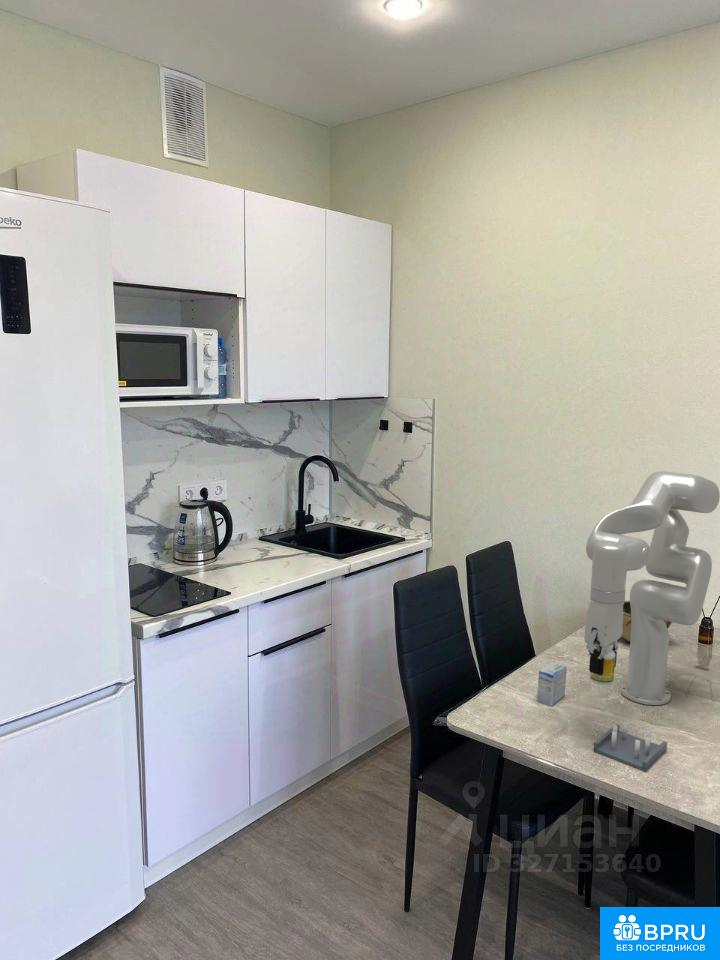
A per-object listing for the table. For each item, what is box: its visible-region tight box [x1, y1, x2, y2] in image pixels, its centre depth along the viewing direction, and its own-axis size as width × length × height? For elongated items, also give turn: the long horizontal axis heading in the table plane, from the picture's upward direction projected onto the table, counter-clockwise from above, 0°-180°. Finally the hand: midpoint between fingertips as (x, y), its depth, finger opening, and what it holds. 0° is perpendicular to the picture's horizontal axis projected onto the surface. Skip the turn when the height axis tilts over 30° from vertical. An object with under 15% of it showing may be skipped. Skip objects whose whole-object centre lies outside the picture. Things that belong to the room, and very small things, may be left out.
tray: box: [592, 721, 668, 773], centre depth 165 cm, size 12×12×5 cm
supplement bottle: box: [589, 641, 616, 686], centre depth 168 cm, size 5×5×10 cm
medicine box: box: [536, 661, 568, 707], centre depth 190 cm, size 8×4×9 cm, turn 141°
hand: (602, 668), depth 168 cm, fingers closed on supplement bottle, 5 cm apart
